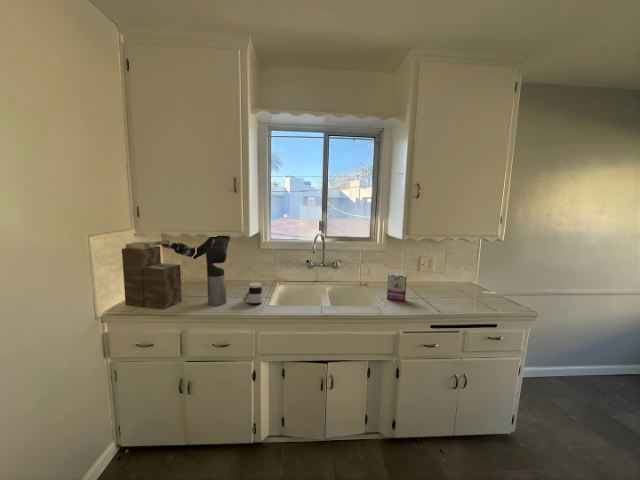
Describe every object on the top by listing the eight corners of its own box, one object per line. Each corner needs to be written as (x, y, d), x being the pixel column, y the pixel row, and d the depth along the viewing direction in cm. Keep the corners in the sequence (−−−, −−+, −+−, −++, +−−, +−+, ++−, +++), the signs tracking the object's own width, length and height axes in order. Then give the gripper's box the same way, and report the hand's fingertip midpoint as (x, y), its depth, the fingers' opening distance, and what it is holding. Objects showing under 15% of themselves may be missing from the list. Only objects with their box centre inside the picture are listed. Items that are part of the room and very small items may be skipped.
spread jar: (261, 306, 153) (261, 286, 151) (241, 306, 151) (241, 286, 150) (262, 298, 165) (262, 280, 163) (243, 299, 163) (243, 280, 161)
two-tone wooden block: (145, 297, 161) (142, 245, 157) (181, 301, 157) (179, 247, 152) (125, 305, 148) (121, 248, 144) (164, 309, 143) (161, 251, 139)
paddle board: (160, 242, 169) (159, 238, 169) (173, 243, 167) (173, 239, 167) (125, 248, 146) (125, 244, 145) (141, 249, 144) (140, 245, 143)
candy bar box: (405, 299, 170) (407, 274, 168) (404, 302, 166) (406, 276, 163) (387, 297, 174) (389, 272, 172) (386, 299, 170) (388, 274, 168)
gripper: (174, 243, 190) (159, 237, 175) (193, 244, 188) (178, 238, 173) (172, 254, 188) (156, 248, 173) (190, 255, 186) (176, 249, 171)
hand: (167, 243), depth 173 cm, fingers open, 8 cm apart
